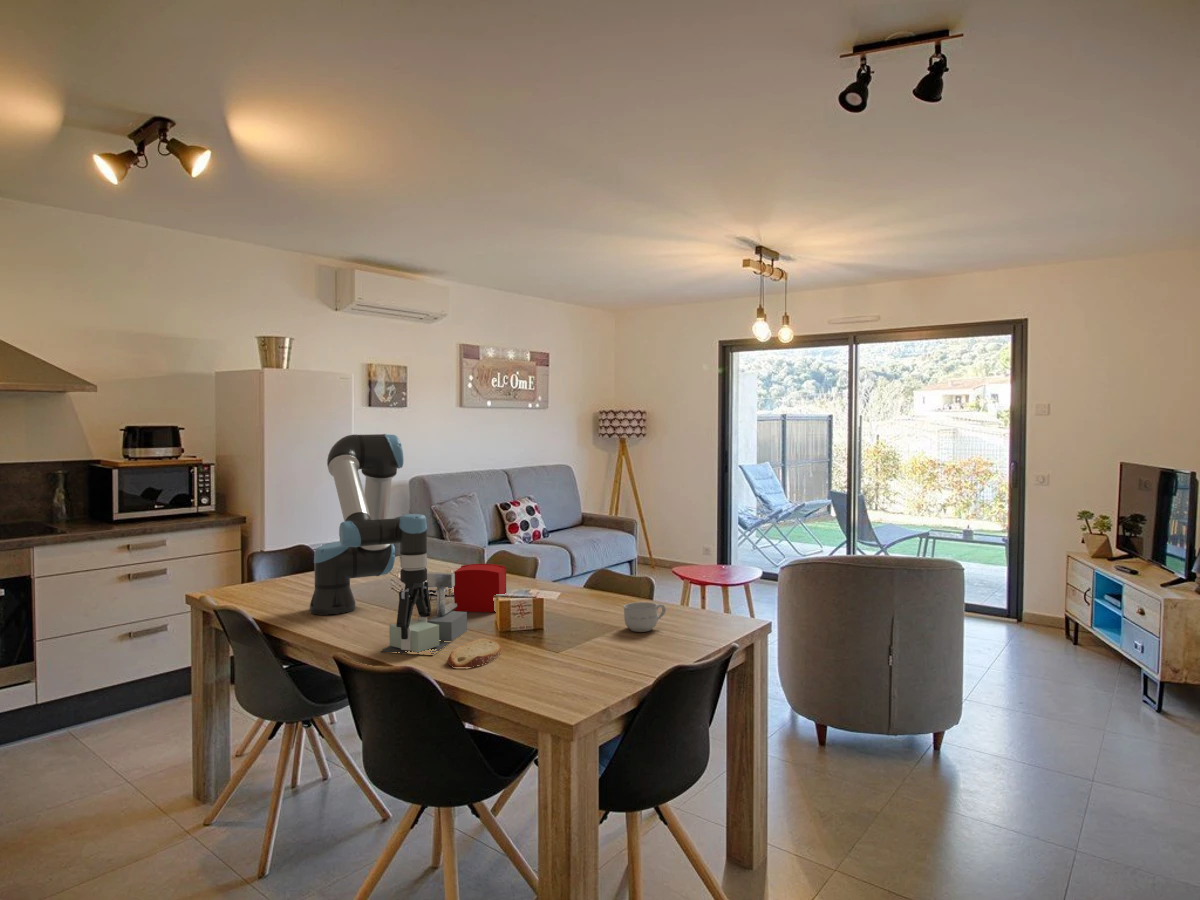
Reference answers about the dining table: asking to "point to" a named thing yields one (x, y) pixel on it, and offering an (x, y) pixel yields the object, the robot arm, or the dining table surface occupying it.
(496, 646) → the bread slice
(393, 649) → the mat
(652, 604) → the teacup
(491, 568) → the maroon rounded cube
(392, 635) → the pale green block
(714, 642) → the dining table surface
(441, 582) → the t key
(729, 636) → the dining table surface
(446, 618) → the block
